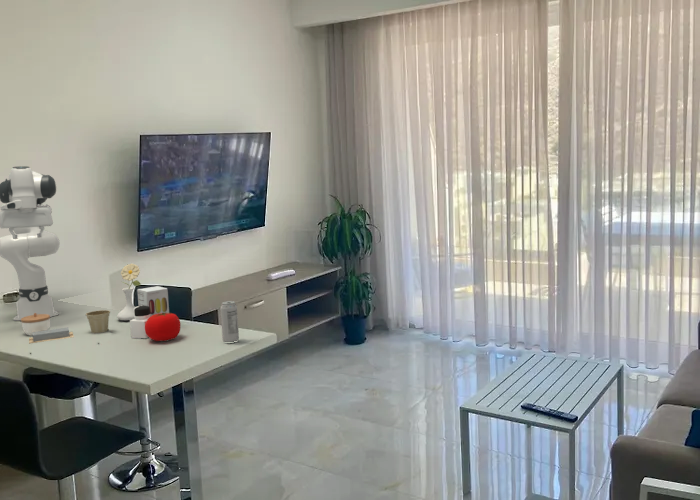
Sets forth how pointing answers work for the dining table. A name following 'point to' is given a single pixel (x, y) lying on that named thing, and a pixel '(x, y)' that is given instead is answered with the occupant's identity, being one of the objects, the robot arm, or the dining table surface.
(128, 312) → the flower in vase
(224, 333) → the energy drink can
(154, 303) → the supplement box
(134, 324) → the medicine bottle
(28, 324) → the lidded jar
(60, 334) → the slate tile
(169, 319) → the tomato
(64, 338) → the wooden board
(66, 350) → the dining table surface
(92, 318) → the flower pot
